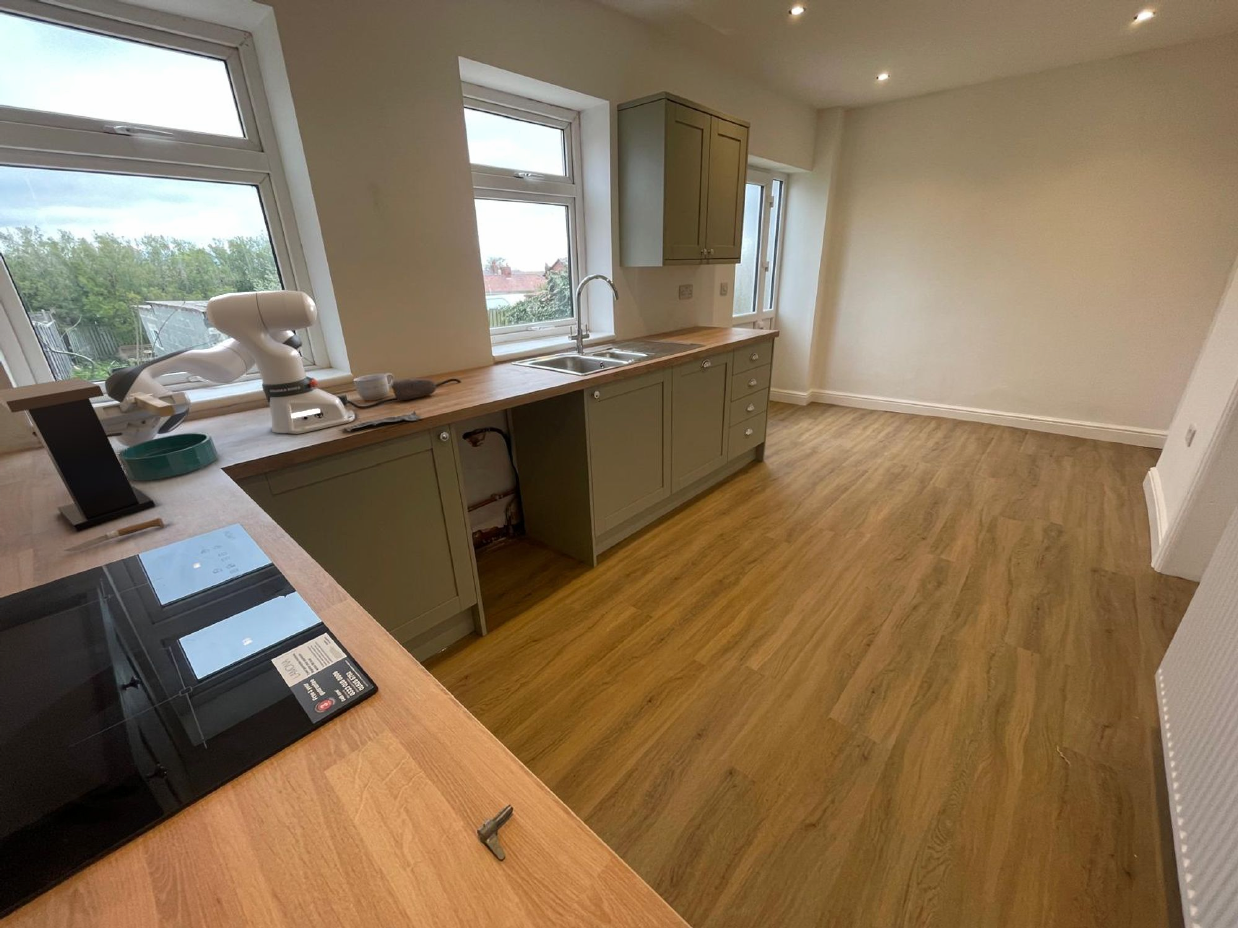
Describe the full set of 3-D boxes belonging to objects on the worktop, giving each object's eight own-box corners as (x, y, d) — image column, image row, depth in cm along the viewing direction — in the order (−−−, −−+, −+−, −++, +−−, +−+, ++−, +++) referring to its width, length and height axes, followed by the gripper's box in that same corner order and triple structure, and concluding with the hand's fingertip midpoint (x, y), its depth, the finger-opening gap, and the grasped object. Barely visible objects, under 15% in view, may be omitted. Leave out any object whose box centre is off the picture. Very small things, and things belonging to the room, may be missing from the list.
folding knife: (66, 557, 88) (60, 548, 87) (66, 554, 89) (60, 544, 88) (165, 527, 97) (160, 518, 96) (164, 524, 98) (160, 515, 97)
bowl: (222, 449, 137) (214, 428, 134) (213, 470, 123) (204, 447, 120) (139, 464, 129) (129, 442, 126) (119, 488, 115) (107, 464, 112)
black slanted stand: (59, 511, 105) (-8, 391, 95) (132, 489, 114) (78, 377, 104) (77, 531, 96) (5, 401, 86) (155, 506, 105) (99, 385, 95)
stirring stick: (132, 403, 125) (128, 394, 124) (144, 401, 127) (141, 391, 126) (162, 417, 113) (158, 407, 112) (175, 414, 115) (172, 404, 114)
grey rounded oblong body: (435, 392, 183) (431, 373, 180) (440, 395, 179) (436, 376, 176) (392, 400, 175) (388, 381, 172) (396, 403, 171) (391, 384, 168)
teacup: (363, 404, 172) (358, 381, 169) (354, 398, 180) (349, 376, 177) (404, 396, 181) (399, 374, 177) (394, 390, 188) (389, 369, 185)
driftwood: (345, 434, 144) (343, 427, 143) (343, 428, 149) (341, 421, 148) (420, 420, 153) (418, 414, 152) (416, 415, 158) (414, 409, 158)
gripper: (191, 418, 140) (199, 400, 131) (91, 439, 124) (92, 421, 115) (180, 397, 139) (187, 378, 130) (78, 416, 124) (78, 396, 115)
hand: (142, 398), depth 123 cm, fingers closed on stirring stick, 2 cm apart
